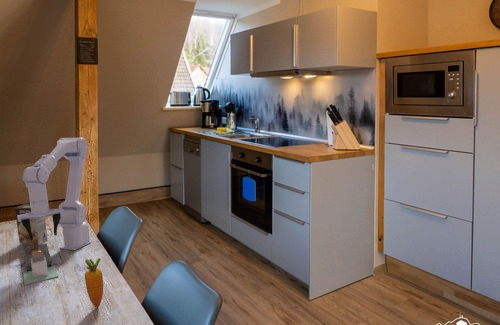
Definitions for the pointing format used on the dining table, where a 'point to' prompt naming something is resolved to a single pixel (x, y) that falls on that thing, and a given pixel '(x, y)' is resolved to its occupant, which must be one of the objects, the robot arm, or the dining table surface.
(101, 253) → the dining table surface
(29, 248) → the hand plane
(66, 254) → the dining table surface
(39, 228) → the coffee box
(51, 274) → the mat
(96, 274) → the carrot
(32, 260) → the lever cap
